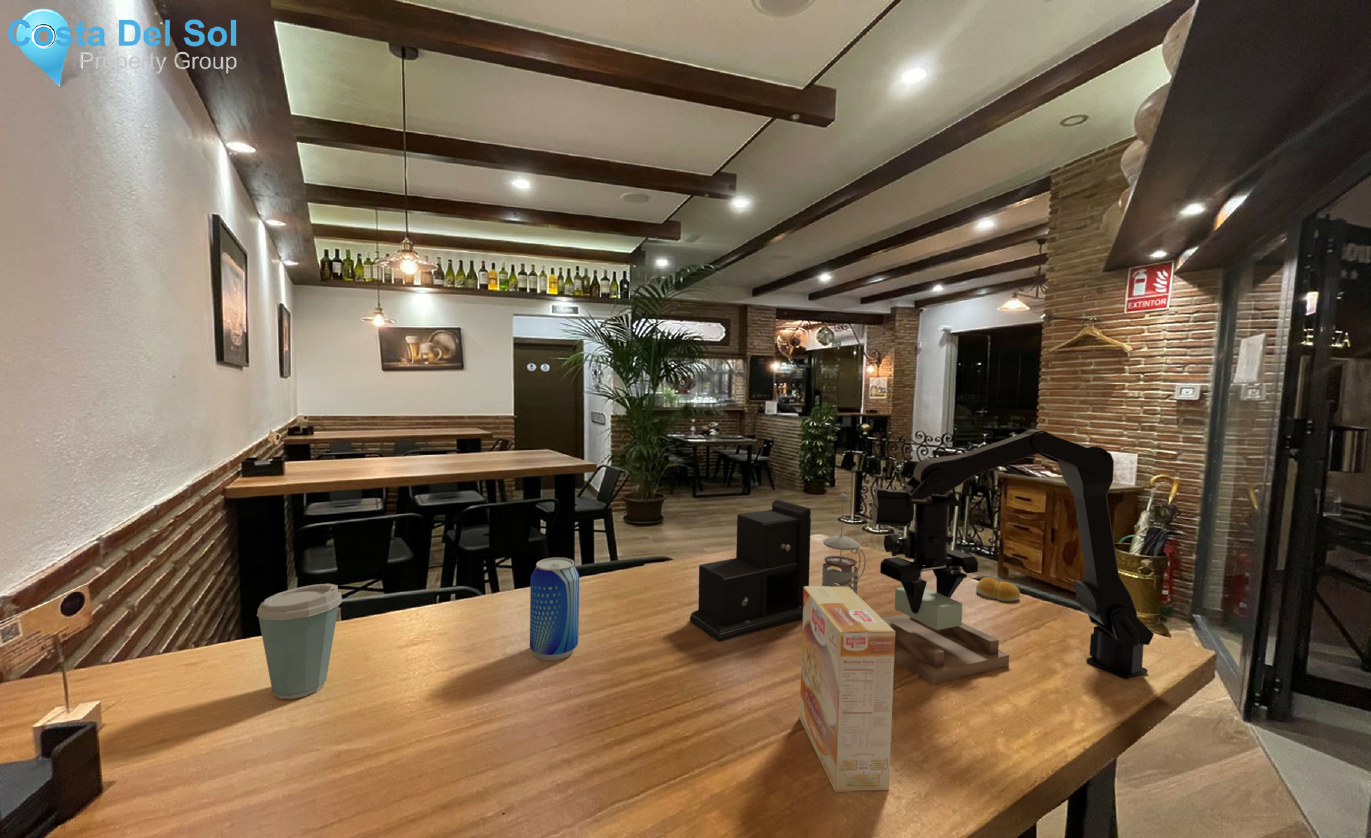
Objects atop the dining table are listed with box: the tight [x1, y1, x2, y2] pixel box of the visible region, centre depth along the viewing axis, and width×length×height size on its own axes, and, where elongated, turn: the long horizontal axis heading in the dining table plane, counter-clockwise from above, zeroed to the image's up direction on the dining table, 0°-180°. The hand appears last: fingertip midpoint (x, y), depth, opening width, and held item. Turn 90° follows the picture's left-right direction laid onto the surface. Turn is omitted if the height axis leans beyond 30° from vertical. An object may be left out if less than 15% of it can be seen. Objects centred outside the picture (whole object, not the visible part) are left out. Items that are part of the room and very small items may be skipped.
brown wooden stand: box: [880, 613, 1010, 685], centre depth 100 cm, size 20×18×4 cm
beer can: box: [529, 557, 580, 662], centre depth 95 cm, size 8×8×16 cm
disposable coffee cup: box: [256, 583, 343, 700], centre depth 82 cm, size 11×11×15 cm
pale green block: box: [894, 586, 963, 630], centre depth 100 cm, size 10×6×4 cm, turn 22°
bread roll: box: [975, 576, 1021, 602], centre depth 129 cm, size 8×9×4 cm
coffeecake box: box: [798, 585, 895, 793], centre depth 70 cm, size 15×7×20 cm, turn 4°
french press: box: [821, 493, 867, 595], centre depth 122 cm, size 10×12×25 cm
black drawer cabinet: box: [689, 499, 812, 642], centre depth 111 cm, size 23×11×24 cm, turn 121°
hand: (927, 610), depth 100 cm, fingers closed on pale green block, 6 cm apart
